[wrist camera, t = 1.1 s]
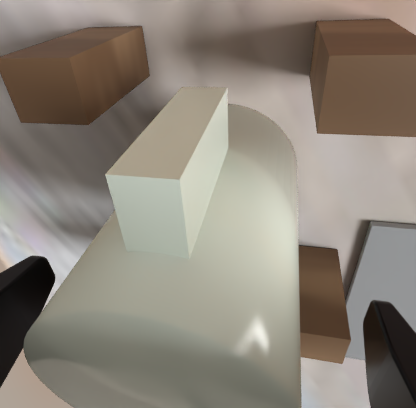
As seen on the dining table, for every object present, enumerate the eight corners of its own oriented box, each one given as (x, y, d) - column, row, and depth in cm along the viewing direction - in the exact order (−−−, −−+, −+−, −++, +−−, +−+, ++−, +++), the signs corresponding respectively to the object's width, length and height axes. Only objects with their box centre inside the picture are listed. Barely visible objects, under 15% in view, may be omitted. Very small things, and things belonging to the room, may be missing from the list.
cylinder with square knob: (290, 227, 15) (286, 475, 8) (171, 216, 16) (72, 424, 9) (311, 56, 10) (351, 261, 3) (147, 57, 11) (-86, 213, 4)
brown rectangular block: (331, 273, 16) (342, 363, 12) (138, 250, 18) (100, 322, 14) (396, 18, 9) (459, 54, 6) (82, 28, 11) (-13, 58, 8)
